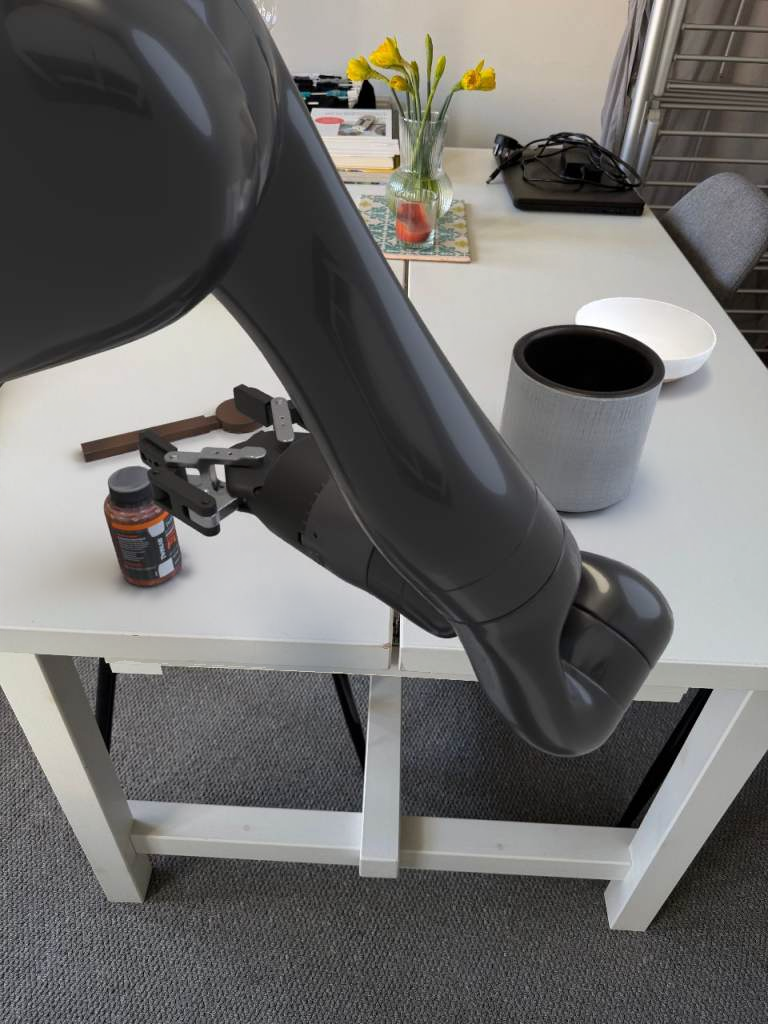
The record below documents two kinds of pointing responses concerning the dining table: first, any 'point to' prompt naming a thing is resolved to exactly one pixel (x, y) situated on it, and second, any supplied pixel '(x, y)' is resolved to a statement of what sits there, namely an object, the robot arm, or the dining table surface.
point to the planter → (580, 412)
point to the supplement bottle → (140, 529)
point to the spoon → (173, 431)
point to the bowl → (655, 330)
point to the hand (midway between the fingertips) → (192, 417)
